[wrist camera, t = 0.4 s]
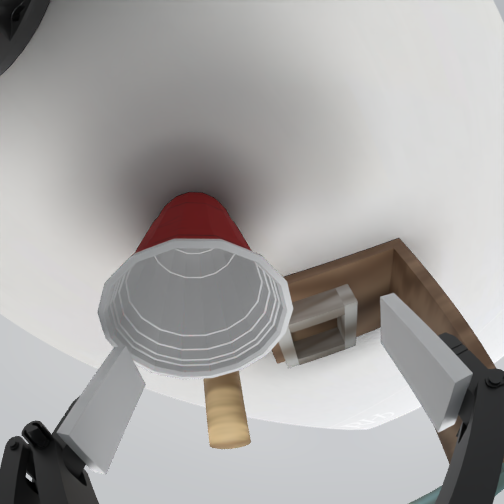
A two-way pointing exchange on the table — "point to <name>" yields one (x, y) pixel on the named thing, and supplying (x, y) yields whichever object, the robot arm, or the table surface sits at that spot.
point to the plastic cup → (195, 295)
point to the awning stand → (370, 313)
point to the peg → (226, 412)
